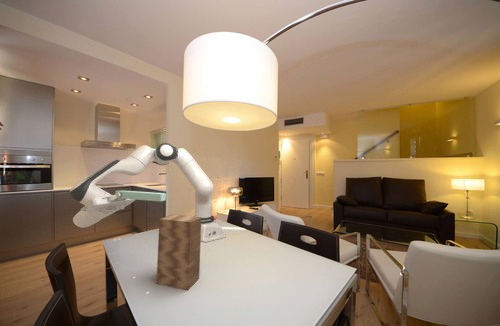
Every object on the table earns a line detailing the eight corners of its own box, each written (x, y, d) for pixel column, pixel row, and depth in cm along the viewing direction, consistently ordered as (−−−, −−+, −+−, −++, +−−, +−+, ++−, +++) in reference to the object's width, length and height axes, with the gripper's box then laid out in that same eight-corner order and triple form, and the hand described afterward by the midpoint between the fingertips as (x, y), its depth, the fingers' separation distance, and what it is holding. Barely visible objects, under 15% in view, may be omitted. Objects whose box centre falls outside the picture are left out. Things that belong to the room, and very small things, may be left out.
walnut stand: (156, 283, 73) (159, 218, 74) (170, 273, 80) (172, 214, 81) (188, 290, 69) (190, 222, 70) (199, 278, 77) (201, 217, 78)
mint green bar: (115, 197, 83) (115, 191, 83) (121, 196, 86) (121, 190, 86) (160, 201, 77) (160, 194, 77) (165, 200, 80) (165, 193, 80)
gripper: (75, 204, 77) (98, 189, 74) (121, 198, 97) (140, 185, 94) (80, 218, 76) (104, 203, 73) (125, 209, 95) (145, 197, 93)
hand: (125, 193), depth 84 cm, fingers closed on mint green bar, 3 cm apart
